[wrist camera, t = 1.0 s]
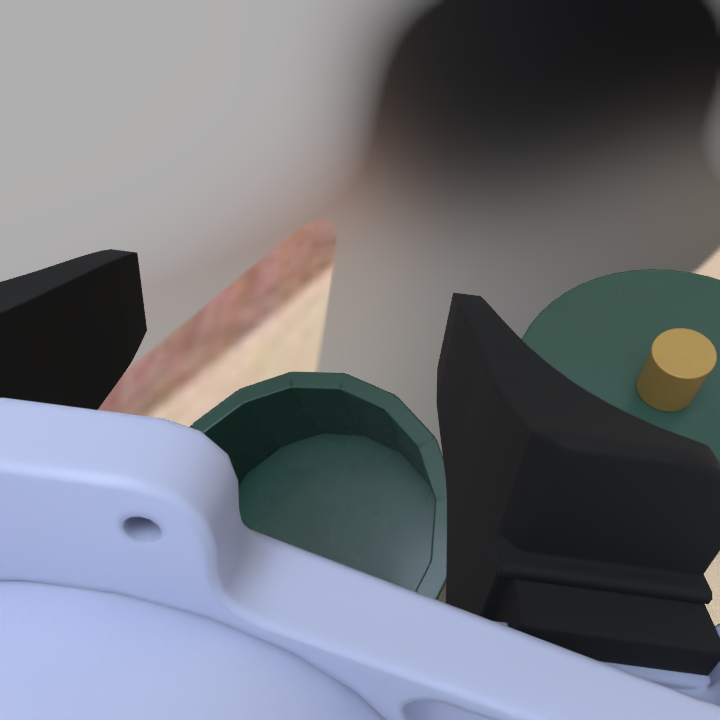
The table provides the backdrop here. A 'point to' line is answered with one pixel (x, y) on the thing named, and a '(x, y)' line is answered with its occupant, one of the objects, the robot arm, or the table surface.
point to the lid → (641, 346)
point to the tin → (339, 474)
